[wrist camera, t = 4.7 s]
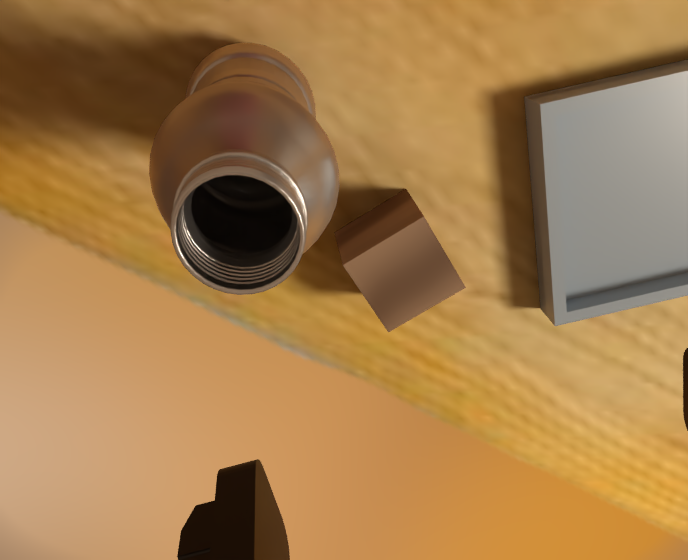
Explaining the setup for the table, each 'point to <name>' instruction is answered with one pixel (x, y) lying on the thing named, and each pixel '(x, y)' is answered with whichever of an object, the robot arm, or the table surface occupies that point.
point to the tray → (610, 192)
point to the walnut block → (397, 261)
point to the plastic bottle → (244, 170)
